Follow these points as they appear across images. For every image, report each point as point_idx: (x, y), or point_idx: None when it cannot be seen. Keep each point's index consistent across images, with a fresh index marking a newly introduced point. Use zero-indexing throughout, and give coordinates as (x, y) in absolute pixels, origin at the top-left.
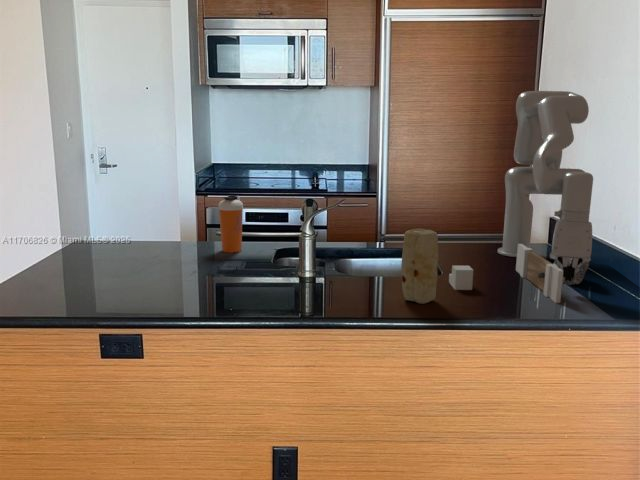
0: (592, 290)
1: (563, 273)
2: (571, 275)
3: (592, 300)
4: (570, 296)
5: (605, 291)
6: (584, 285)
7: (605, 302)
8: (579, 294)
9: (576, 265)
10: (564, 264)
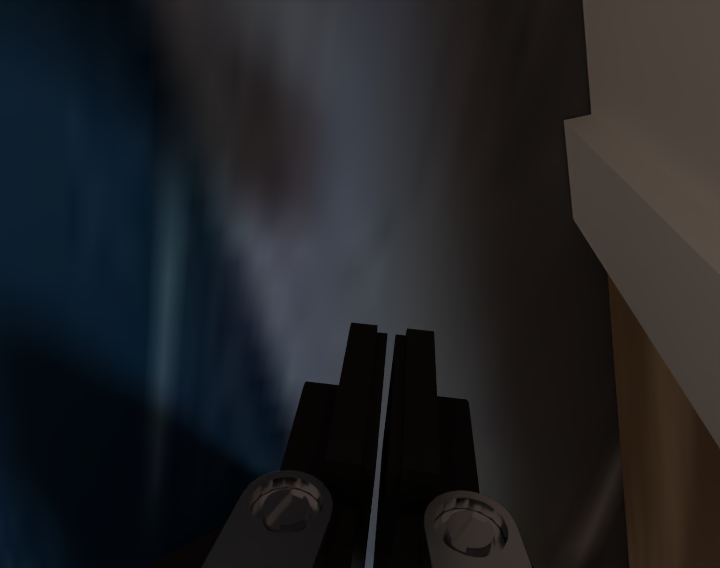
0: (129, 429)
1: (464, 426)
2: (348, 367)
3: (141, 96)
4: (367, 195)
5: (20, 420)
6: (189, 542)
7: (4, 50)
8: (260, 287)
9: (242, 506)
10: (489, 537)
